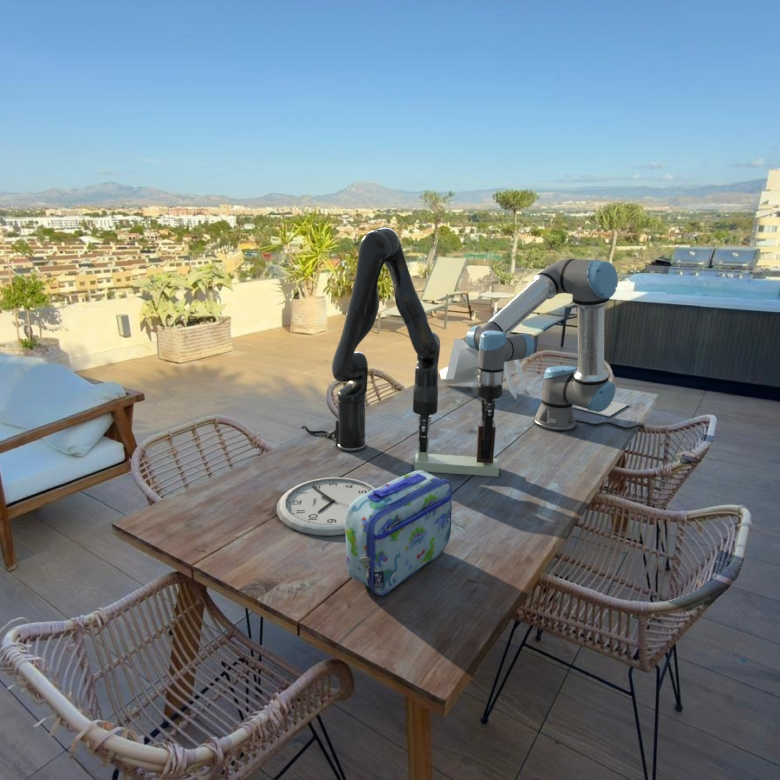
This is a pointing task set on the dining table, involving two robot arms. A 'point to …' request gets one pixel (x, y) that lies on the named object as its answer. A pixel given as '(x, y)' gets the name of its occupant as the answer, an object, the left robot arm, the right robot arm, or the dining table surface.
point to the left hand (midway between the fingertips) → (423, 448)
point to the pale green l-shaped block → (453, 464)
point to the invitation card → (607, 409)
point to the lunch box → (397, 529)
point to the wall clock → (320, 505)
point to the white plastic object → (474, 367)
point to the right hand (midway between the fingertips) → (484, 454)
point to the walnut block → (479, 443)
